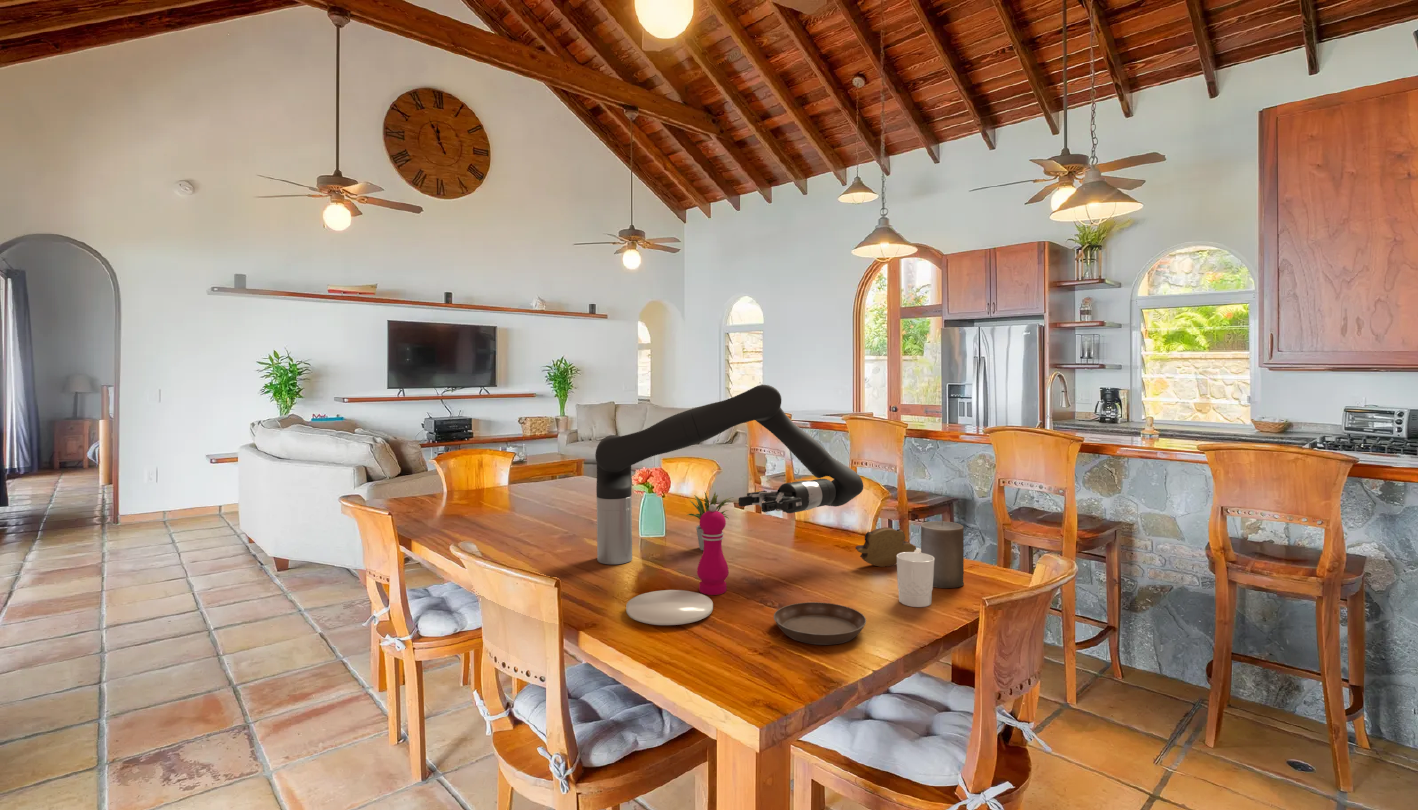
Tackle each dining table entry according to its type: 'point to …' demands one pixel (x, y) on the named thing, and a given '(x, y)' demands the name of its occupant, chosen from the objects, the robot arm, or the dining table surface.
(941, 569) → the pillar candle
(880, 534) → the wooden carving
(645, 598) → the plate
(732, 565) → the dining table surface
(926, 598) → the white cup
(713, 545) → the pepper mill
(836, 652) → the dining table surface
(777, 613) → the plant saucer
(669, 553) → the dining table surface
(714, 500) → the house plant
